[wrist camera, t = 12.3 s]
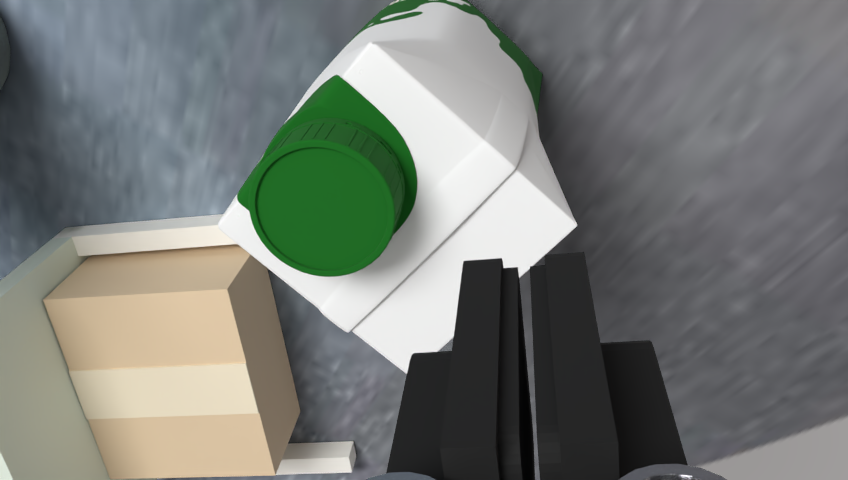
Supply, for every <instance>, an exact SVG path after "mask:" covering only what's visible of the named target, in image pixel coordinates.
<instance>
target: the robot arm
mask: <svg viewBox="0 0 848 480" xmlns="http://www.w3.org/2000/svg"><path fill="white" fill-rule="evenodd" d="M530 278H531V302H532V327H533V351H534V375H535V400H536V424H537V443H538V457H539V470H540V480H726V479H725V478H723V477H722V476H720V475H717V474H715V473H712V472H710V471H707V470H705V469H702V468H699V467H693V466H688V465H687V461H686V458H685V455H684V451H683V448H682V444H681V441H680V437H679V434H678V430H677V427H676V423H675V420H674V416H673V413H672V409H671V406H670V403H669V399H668V396H667V392H666V389H665V385H664V382H663V378H662V375H661V371H660V368H659V364H658V361H657V357H656V354H655V351H654V347H653V345H652V342H651V341H630V342H611V343H600V339H599V333H598V327H597V322H596V316H595V311H594V305H593V300H592V294H591V289H590V283H589V278H588V272H587V267H586V261H585V255H584V252H582V253H567V254H553V255H545V265H541V266H530ZM366 480H535V469H534V442H533V427H532V415H531V404H530V393H529V382H528V371H527V360H526V349H525V338H524V327H523V316H522V305H521V294H520V283H519V273H518V267H512V268H504V267H503V261H502V258H497V259H483V260H468V261H463V267H462V275H461V283H460V291H459V299H458V307H457V315H456V323H455V331H454V339H453V347H452V351H443V352H425V353H414V354H412V356H411V359H410V362H409V367H408V372H407V376H406V381H405V386H404V391H403V396H402V401H401V405H400V410H399V415H398V420H397V425H396V429H395V434H394V439H393V444H392V449H391V454H390V458H389V463H388V468H387V473H386V474H382V475H378V476H374V477H370V478H368V479H366Z"/></svg>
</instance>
